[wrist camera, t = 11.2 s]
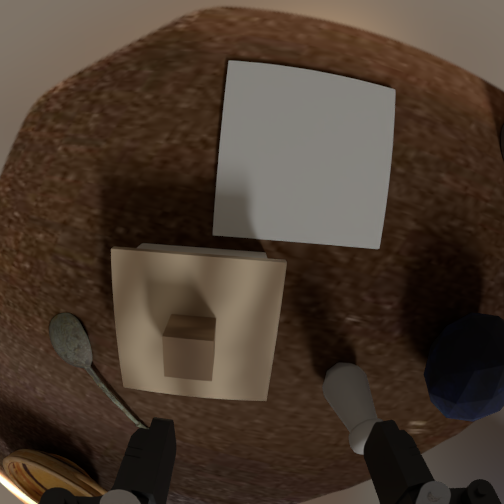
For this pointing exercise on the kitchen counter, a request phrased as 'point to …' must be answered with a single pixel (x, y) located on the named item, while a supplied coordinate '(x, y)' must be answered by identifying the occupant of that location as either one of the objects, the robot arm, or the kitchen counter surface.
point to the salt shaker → (351, 401)
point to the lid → (196, 322)
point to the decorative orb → (468, 368)
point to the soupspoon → (78, 351)
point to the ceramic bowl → (48, 474)
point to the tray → (303, 156)
